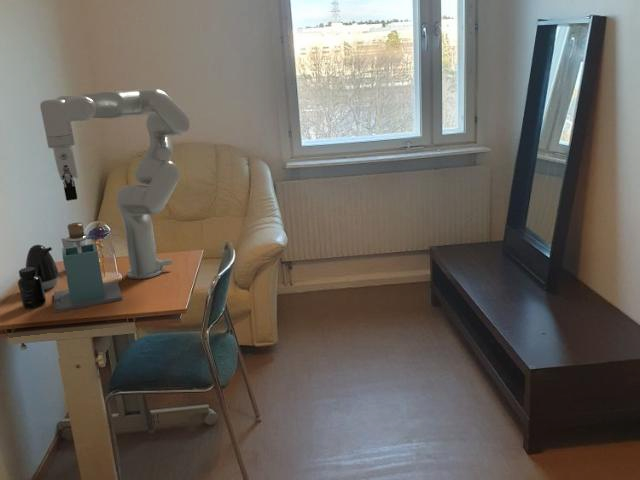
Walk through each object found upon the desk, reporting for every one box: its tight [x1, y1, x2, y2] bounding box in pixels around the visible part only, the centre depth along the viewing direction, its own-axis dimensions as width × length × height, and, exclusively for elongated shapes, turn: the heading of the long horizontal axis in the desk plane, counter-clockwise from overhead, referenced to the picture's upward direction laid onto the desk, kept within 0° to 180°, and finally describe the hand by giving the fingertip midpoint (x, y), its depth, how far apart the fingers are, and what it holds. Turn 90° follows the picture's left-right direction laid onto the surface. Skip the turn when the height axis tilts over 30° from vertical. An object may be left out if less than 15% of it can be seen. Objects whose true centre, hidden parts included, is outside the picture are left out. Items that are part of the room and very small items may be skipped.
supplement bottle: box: [17, 267, 47, 310], centre depth 203 cm, size 7×7×12 cm
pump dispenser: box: [25, 244, 60, 291], centre depth 218 cm, size 10×10×15 cm
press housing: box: [53, 242, 123, 314], centre depth 206 cm, size 20×17×16 cm
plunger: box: [66, 222, 89, 254], centre depth 204 cm, size 7×7×22 cm
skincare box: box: [61, 235, 84, 248], centre depth 236 cm, size 6×4×12 cm
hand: (71, 196), depth 199 cm, fingers open, 9 cm apart
